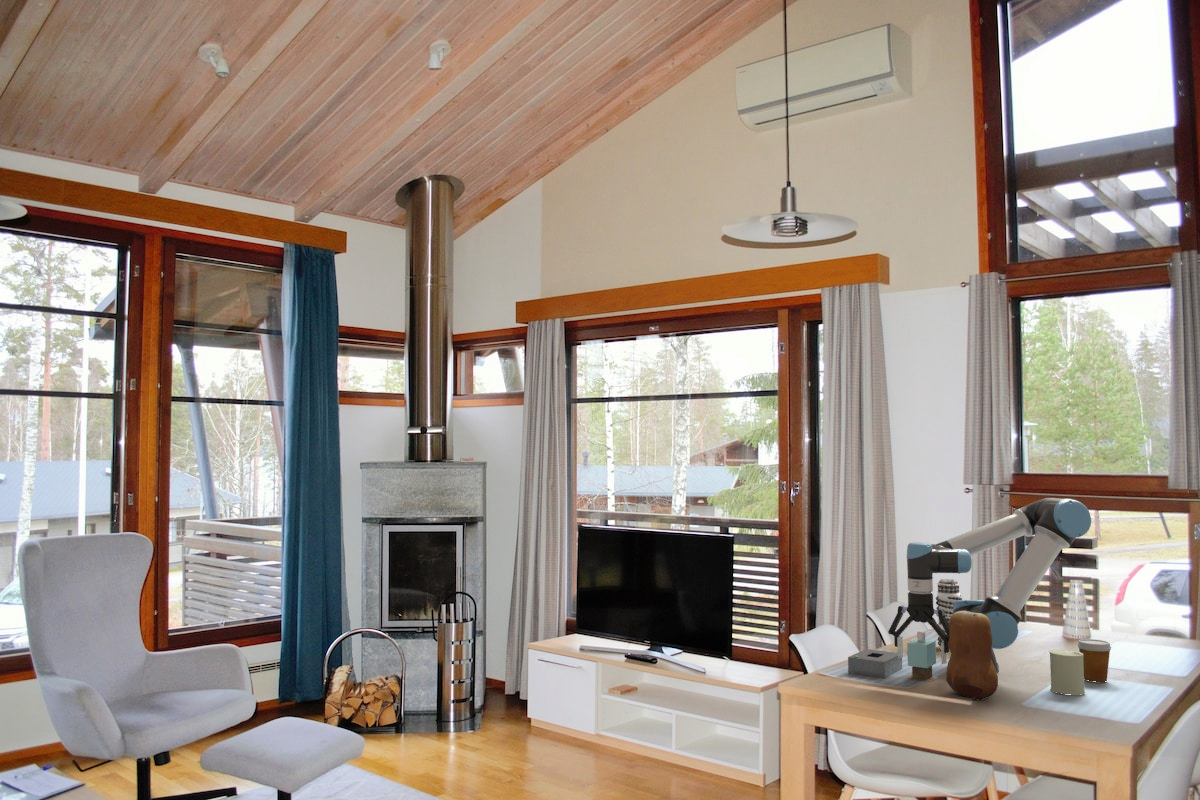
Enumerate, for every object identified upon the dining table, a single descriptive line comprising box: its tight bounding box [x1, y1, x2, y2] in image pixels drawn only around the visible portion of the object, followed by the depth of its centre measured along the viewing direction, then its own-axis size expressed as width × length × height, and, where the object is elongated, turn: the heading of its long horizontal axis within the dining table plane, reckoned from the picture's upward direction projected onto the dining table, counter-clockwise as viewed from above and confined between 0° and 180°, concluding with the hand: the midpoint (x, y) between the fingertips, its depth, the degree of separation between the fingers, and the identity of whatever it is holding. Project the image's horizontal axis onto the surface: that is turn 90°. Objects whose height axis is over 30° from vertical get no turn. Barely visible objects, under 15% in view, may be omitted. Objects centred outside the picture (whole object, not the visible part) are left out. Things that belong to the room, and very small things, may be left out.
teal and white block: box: [906, 631, 937, 668], centre depth 289 cm, size 6×9×14 cm, turn 143°
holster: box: [905, 665, 939, 683], centre depth 288 cm, size 8×8×4 cm
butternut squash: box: [945, 611, 999, 701], centre depth 267 cm, size 14×13×25 cm
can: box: [1049, 649, 1086, 696], centre depth 275 cm, size 9×9×12 cm
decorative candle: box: [935, 578, 963, 650], centre depth 338 cm, size 9×9×25 cm
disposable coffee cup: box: [1077, 638, 1112, 683], centre depth 289 cm, size 10×10×12 cm
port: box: [847, 648, 903, 679], centre depth 297 cm, size 12×16×6 cm
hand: (921, 660), depth 289 cm, fingers open, 13 cm apart
